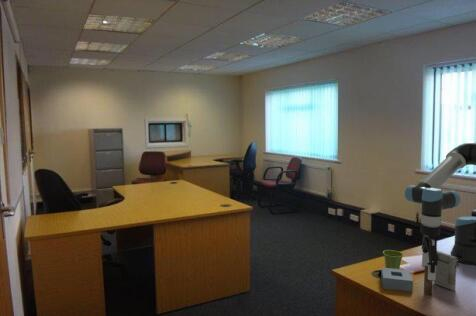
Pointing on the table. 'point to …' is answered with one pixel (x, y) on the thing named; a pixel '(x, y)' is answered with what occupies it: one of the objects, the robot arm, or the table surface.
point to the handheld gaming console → (446, 270)
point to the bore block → (396, 279)
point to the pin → (427, 283)
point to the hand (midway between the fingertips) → (428, 273)
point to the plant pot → (392, 259)
